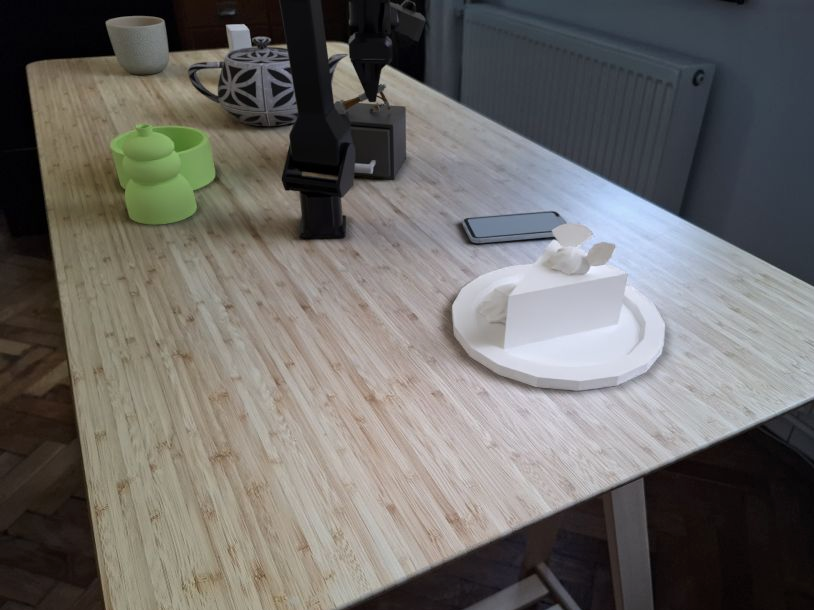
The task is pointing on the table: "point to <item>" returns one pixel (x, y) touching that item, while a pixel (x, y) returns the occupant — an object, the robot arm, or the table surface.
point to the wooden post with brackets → (362, 97)
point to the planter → (139, 43)
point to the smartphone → (512, 226)
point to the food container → (162, 171)
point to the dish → (560, 318)
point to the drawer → (371, 150)
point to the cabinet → (384, 119)
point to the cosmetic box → (238, 36)
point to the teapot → (256, 84)
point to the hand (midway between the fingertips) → (371, 93)
